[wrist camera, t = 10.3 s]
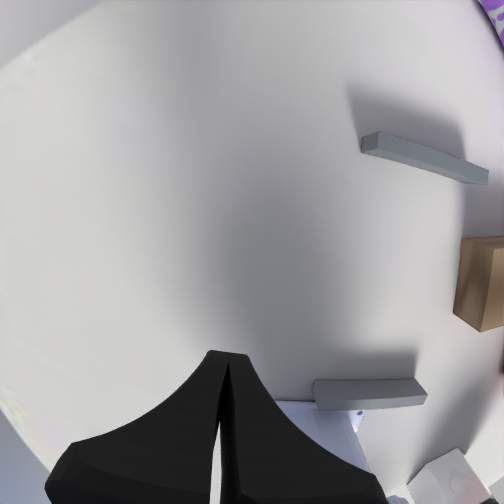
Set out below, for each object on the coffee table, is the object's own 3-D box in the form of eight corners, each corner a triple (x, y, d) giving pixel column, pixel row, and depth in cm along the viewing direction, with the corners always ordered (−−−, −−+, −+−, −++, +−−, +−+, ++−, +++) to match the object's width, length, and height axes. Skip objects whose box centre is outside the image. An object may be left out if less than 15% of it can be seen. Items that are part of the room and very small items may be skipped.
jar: (471, 437, 24) (516, 498, 13) (459, 470, 26) (493, 525, 14) (409, 469, 25) (445, 543, 13) (403, 498, 26) (431, 561, 15)
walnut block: (497, 301, 21) (525, 317, 17) (451, 312, 20) (479, 332, 17) (506, 235, 19) (538, 244, 15) (460, 237, 19) (493, 248, 15)
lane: (410, 387, 22) (423, 404, 19) (311, 390, 21) (318, 410, 19) (467, 170, 18) (488, 170, 15) (362, 137, 17) (378, 131, 15)
